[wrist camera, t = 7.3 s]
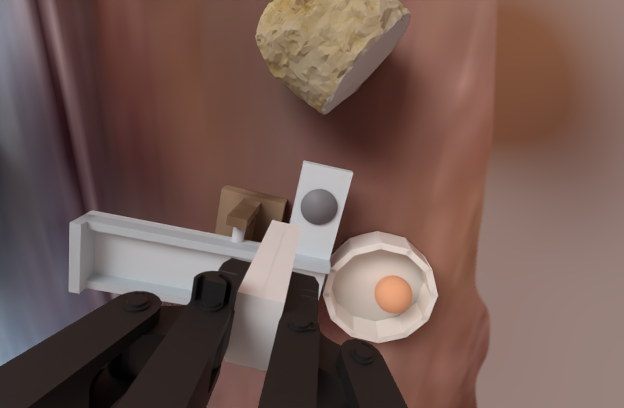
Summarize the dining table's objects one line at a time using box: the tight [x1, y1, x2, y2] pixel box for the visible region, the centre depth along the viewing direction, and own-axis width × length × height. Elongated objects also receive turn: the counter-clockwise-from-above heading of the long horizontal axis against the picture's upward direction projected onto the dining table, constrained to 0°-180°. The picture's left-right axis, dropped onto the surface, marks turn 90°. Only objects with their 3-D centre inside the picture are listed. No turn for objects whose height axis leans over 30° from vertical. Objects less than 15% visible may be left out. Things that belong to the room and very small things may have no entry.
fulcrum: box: [215, 185, 287, 243], centre depth 31 cm, size 6×12×6 cm, turn 167°
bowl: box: [323, 231, 438, 343], centre depth 32 cm, size 10×10×3 cm
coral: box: [255, 0, 410, 115], centre depth 24 cm, size 10×10×10 cm
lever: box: [69, 160, 353, 305], centre depth 27 cm, size 20×15×3 cm
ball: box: [374, 275, 412, 314], centre depth 32 cm, size 4×4×4 cm
